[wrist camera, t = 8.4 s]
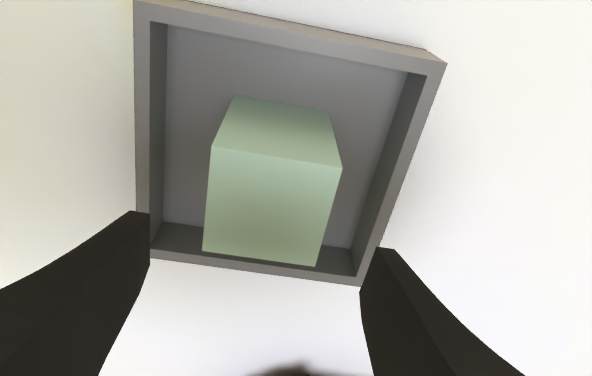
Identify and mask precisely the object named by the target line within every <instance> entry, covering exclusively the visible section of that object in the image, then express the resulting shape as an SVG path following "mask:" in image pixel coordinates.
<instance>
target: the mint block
mask: <svg viewBox="0 0 592 376" xmlns="http://www.w3.org/2000/svg"><path fill="white" fill-rule="evenodd" d="M342 169H343V168H342V164H341V160H340V156H339V152H338V148H337V144H336V140H335V136H334V132H333V128H332V124H331V120H330V116H329V112H327V111H322V110H316V109H311V108H305V107H300V106H294V105H289V104H284V103H278V102H273V101H267V100H262V99H256V98H251V97H246V96H240V95H234V97H233V99H232V101H231V104H230V106H229V108H228V110H227V113H226V115H225V117H224V119H223V121H222V124H221V126H220V128H219V130H218V132H217V135H216V137H215V139H214V141H213V144H212V146H211V156H210V167H209V178H208V189H207V200H206V211H205V222H204V233H203V244H202V251H206V252H213V253H220V254H228V255H235V256H242V257H249V258H256V259H263V260H270V261H277V262H284V263H291V264H298V265H305V266H312V267H315V265H316V261H317V258H318V254H319V251H320V247H321V243H322V240H323V236H324V233H325V229H326V226H327V222H328V219H329V215H330V212H331V208H332V204H333V201H334V197H335V194H336V190H337V187H338V183H339V180H340V176H341V172H342Z"/></svg>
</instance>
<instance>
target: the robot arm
mask: <svg viewBox="0 0 592 376" xmlns="http://www.w3.org/2000/svg"><path fill="white" fill-rule="evenodd" d="M149 266H150V213H143V212H137V211H128V212H127V213H125V214H124V215H123V216H121V217H120V218H118V219H117V220H115V221H114V222H112V223H111V224H110V225H108V226H107V227H105V228H104V229H103V230H101V231H100V232H98V233H97V234H95V235H94V236H92V237H91V238H89V239H88V240H86V241H85V242H84V243H82V244H81V245H79V246H78V247H76V248H75V249H73V250H71V251H70V252H68V253H66V254H65V255H63V256H61V257H60V258H58V259H57V260H55V261H53V262H52V263H50V264H48V265H47V266H45V267H43V268H41V269H39V270H38V271H36V272H34V273H32V274H30V275H28V276H26V277H24V278H22V279H20V280H18V281H16V282H14V283H12V284H10V285H8V286H6V287H4V288H2V289H0V376H98V375H99V372H100V370H101V368H102V366H103V364H104V362H105V359H106V357H107V355H108V354H109V352H110V350H111V348H112V346H113V344H114V342H115V340H116V338H117V336H118V334H119V332H120V330H121V328H122V327H123V325H124V323H125V321H126V319H127V317H128V315H129V313H130V311H131V309H132V307H133V305H134V303H135V301H136V299H137V297H138V295H139V293H140V291H141V288H142V285H143V283H144V280H145V277H146V274H147V271H148V268H149ZM359 295H360V308H361V318H362V324H363V329H364V334H365V338H366V343H367V347H368V351H369V356H370V360H371V365H372V369H373V373H374V376H525V375H524V374H522V373H521V372H519V371H518V370H517V369H516V368H514V367H513V366H512V365H510V364H509V363H508V362H507V361H505V360H504V359H503V358H501V357H500V356H499V355H498V354H496V353H495V352H494V351H493V350H491V349H490V348H489V347H488V346H487V345H486V344H484V343H483V342H482V341H481V340H480V339H479V338H478V337H476V336H475V335H474V334H473V333H472V332H471V331H470V330H469V329H467V328H466V327H465V326H464V325H463V324H462V323H461V322H460V321H459V320H458V319H457V318H456V317H455V316H454V315H453V314H452V313H451V312H450V311H449V310H448V309H447V308H446V307H445V306H444V305H443V304H442V303H441V302H440V300H439V299H438V298H437V297H436V296H435V295H434V294H433V293H432V292H431V291H430V290H429V288H428V287H427V286H426V285H425V284H424V283H423V282H422V280H421V279H420V278H419V277H418V276H417V275H416V274H415V272H414V271H413V270H412V269H411V268H410V267H409V265H408V264H407V263H406V262H405V261H404V260H403V258H402V257H401V256H400V255H399V254H398V253H397V252H396V251H395V250H394V249H389V248H382V247H376V248H375V251H374V254H373V257H372V259H371V262H370V265H369V267H368V270H367V273H366V275H365V278H364V281H363V284H362V286H361V289H360V292H359Z"/></svg>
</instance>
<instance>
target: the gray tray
mask: <svg viewBox="0 0 592 376" xmlns="http://www.w3.org/2000/svg"><path fill="white" fill-rule="evenodd" d="M133 37H134V102H135V168H136V211H137V212H143V213H150V258H155V259H162V260H169V261H177V262H184V263H191V264H198V265H206V266H213V267H220V268H227V269H235V270H242V271H249V272H256V273H264V274H271V275H278V276H285V277H293V278H300V279H307V280H315V281H322V282H329V283H336V284H344V285H351V286H358V287H361V286H362V284H363V281H364V278H365V275H366V273H367V270H368V267H369V265H370V262H371V259H372V257H373V254H374V251H375V248H376V247H379V245H380V242H381V240H382V237H383V234H384V232H385V229H386V226H387V224H388V221H389V218H390V216H391V213H392V210H393V208H394V205H395V202H396V200H397V197H398V194H399V192H400V189H401V186H402V184H403V181H404V178H405V176H406V173H407V170H408V168H409V165H410V162H411V160H412V157H413V154H414V152H415V149H416V146H417V144H418V141H419V138H420V136H421V133H422V130H423V128H424V125H425V122H426V120H427V117H428V114H429V112H430V109H431V106H432V104H433V101H434V98H435V96H436V93H437V90H438V88H439V85H440V82H441V79H442V77H443V74H444V71H445V69H446V66H447V63H446V62H445V61H443V60H441V59H440V58H438V57H436V56H435V55H433V54H432V53H430V52H428V51H427V50H425V49H421V48H416V47H411V46H406V45H402V44H397V43H392V42H387V41H382V40H377V39H372V38H368V37H363V36H358V35H353V34H348V33H343V32H338V31H334V30H329V29H324V28H319V27H314V26H309V25H304V24H300V23H295V22H290V21H285V20H280V19H275V18H270V17H265V16H261V15H256V14H251V13H246V12H241V11H236V10H231V9H227V8H222V7H217V6H212V5H207V4H202V3H197V2H193V1H188V0H133ZM234 95H240V96H246V97H251V98H256V99H262V100H267V101H273V102H278V103H284V104H289V105H294V106H300V107H305V108H311V109H316V110H322V111H327V112H329V116H330V120H331V124H332V128H333V132H334V136H335V140H336V144H337V148H338V152H339V156H340V160H341V164H342V168H343V169H342V172H341V176H340V180H339V183H338V187H337V190H336V194H335V197H334V201H333V204H332V208H331V212H330V215H329V219H328V222H327V226H326V229H325V233H324V236H323V240H322V243H321V247H320V251H319V254H318V258H317V261H316V265H315V267H312V266H305V265H298V264H291V263H284V262H277V261H270V260H263V259H256V258H249V257H242V256H235V255H228V254H220V253H213V252H206V251H202V244H203V233H204V222H205V211H206V200H207V189H208V178H209V167H210V156H211V146H212V144H213V141H214V139H215V137H216V135H217V132H218V130H219V128H220V126H221V124H222V121H223V119H224V117H225V115H226V113H227V110H228V108H229V106H230V104H231V101H232V99H233V97H234Z"/></svg>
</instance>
